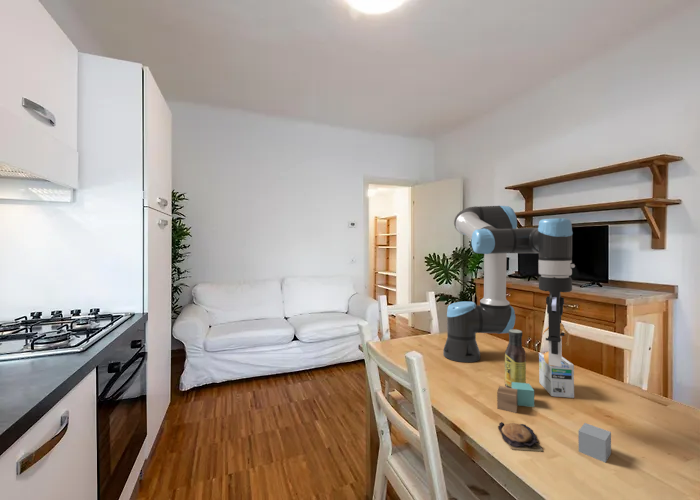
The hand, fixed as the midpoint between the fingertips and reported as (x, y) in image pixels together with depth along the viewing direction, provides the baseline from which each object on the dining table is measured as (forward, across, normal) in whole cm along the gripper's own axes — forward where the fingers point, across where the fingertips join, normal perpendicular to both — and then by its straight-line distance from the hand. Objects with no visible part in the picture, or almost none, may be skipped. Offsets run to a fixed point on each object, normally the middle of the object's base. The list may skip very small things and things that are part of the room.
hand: (555, 362), depth 85 cm
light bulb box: (+17, +23, +1) cm, 28 cm away
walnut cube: (+17, +2, +12) cm, 21 cm away
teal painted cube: (+17, +8, +9) cm, 21 cm away
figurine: (+1, +1, 0) cm, 2 cm away
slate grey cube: (+17, -9, -8) cm, 21 cm away
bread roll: (+17, -13, +7) cm, 23 cm away
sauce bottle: (+17, +16, +12) cm, 26 cm away
